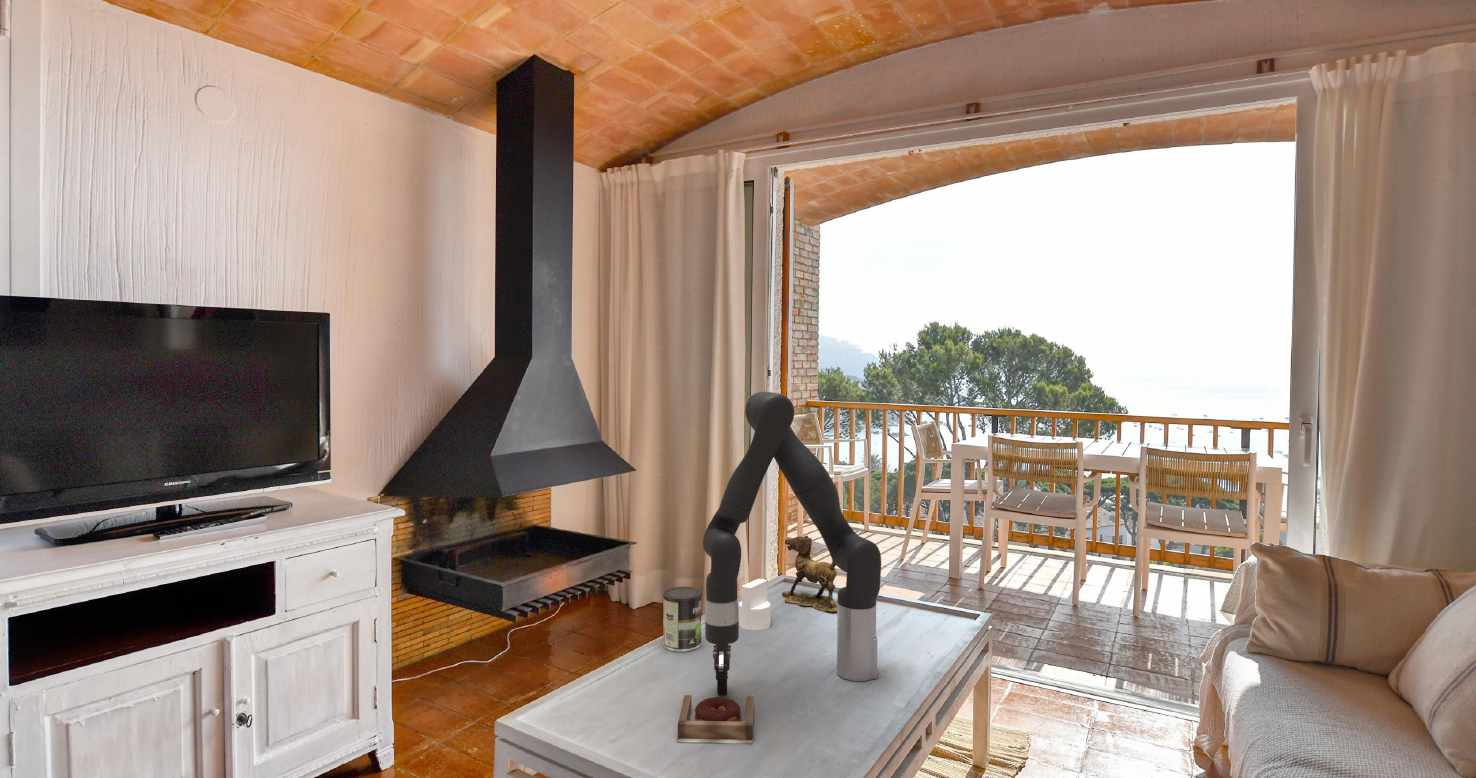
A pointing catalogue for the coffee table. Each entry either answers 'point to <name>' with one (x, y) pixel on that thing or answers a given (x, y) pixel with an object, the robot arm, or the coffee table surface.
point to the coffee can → (682, 619)
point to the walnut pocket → (715, 727)
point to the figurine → (811, 577)
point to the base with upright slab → (754, 606)
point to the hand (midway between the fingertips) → (722, 694)
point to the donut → (717, 710)
